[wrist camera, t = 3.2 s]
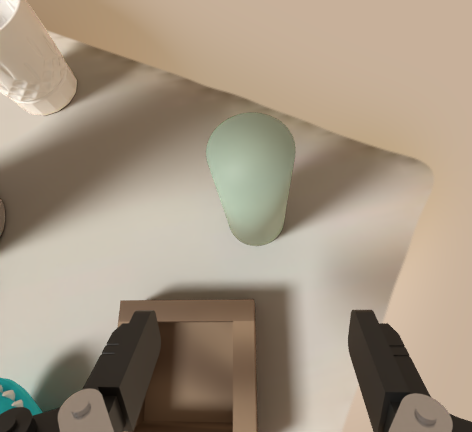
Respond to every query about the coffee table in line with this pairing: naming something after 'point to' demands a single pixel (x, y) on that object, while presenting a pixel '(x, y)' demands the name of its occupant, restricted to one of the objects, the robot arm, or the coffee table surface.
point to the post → (252, 174)
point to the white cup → (32, 62)
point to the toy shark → (15, 397)
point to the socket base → (200, 366)
